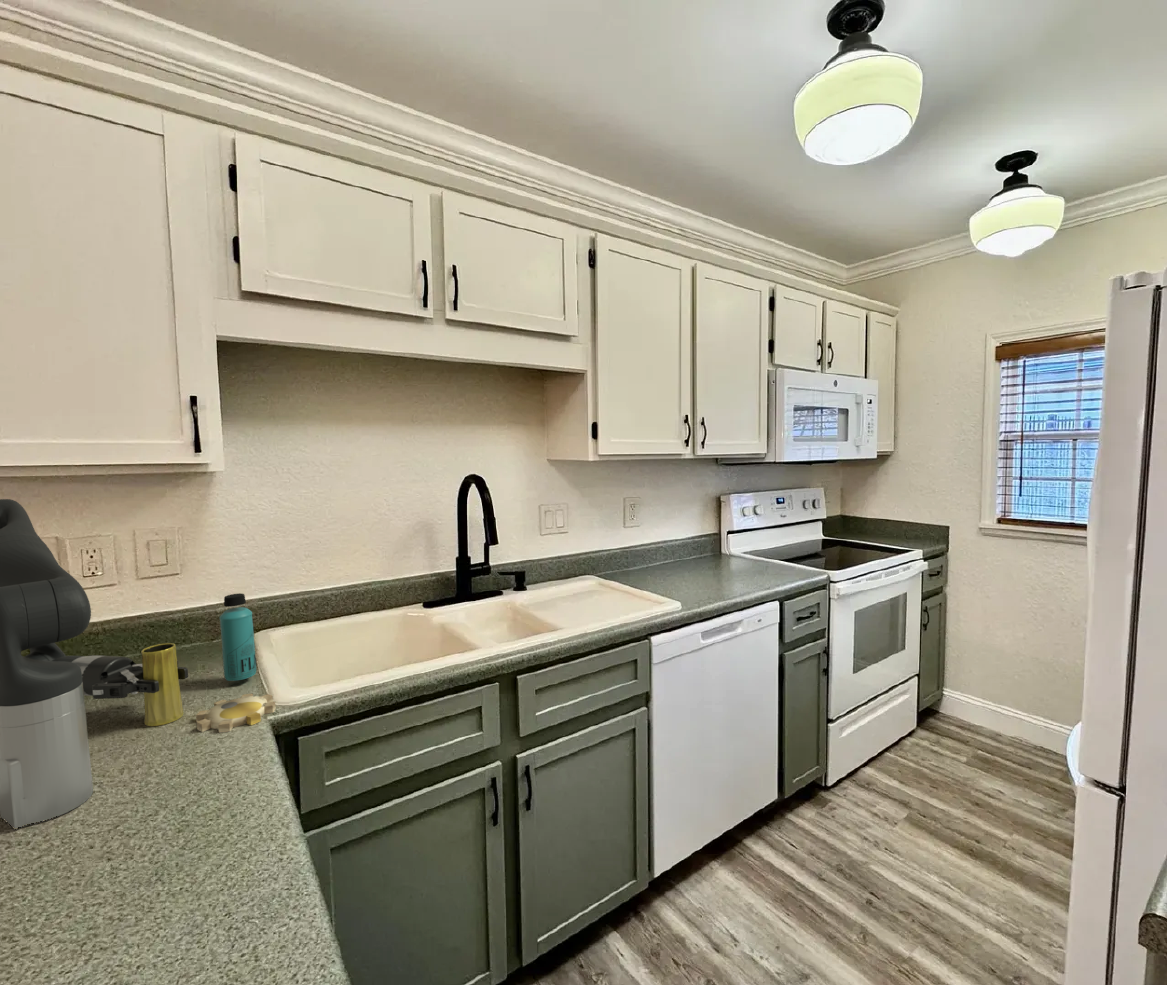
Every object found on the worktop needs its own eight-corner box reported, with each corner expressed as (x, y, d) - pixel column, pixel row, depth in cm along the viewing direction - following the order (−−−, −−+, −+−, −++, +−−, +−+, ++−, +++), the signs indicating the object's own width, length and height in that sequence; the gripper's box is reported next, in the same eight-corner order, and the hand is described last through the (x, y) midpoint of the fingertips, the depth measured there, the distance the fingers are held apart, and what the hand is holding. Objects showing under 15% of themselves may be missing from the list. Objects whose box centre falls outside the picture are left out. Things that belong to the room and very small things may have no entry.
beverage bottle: (242, 688, 120) (235, 599, 119) (216, 686, 121) (209, 598, 120) (264, 676, 126) (258, 591, 125) (240, 674, 128) (234, 590, 126)
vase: (191, 713, 109) (185, 643, 108) (160, 728, 103) (154, 654, 102) (168, 710, 111) (162, 641, 110) (136, 725, 105) (129, 652, 104)
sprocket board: (218, 739, 99) (218, 731, 98) (182, 722, 105) (181, 715, 105) (289, 708, 110) (289, 701, 110) (252, 695, 117) (252, 688, 116)
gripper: (57, 671, 101) (134, 676, 98) (133, 644, 116) (202, 647, 113) (61, 711, 102) (137, 716, 99) (136, 679, 116) (205, 683, 113)
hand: (172, 679), depth 106 cm, fingers open, 5 cm apart
